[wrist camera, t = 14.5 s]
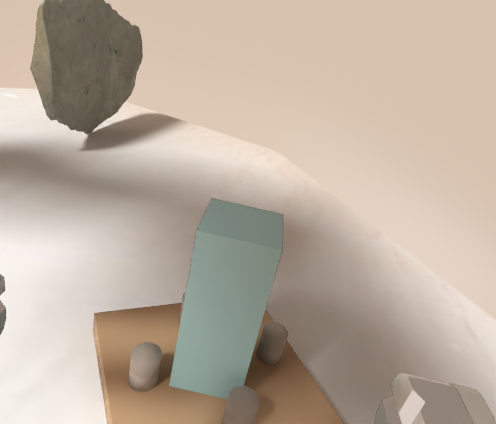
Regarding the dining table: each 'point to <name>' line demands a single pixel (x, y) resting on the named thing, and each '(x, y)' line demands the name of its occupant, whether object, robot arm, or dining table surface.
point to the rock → (84, 61)
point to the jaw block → (226, 296)
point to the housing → (189, 402)
